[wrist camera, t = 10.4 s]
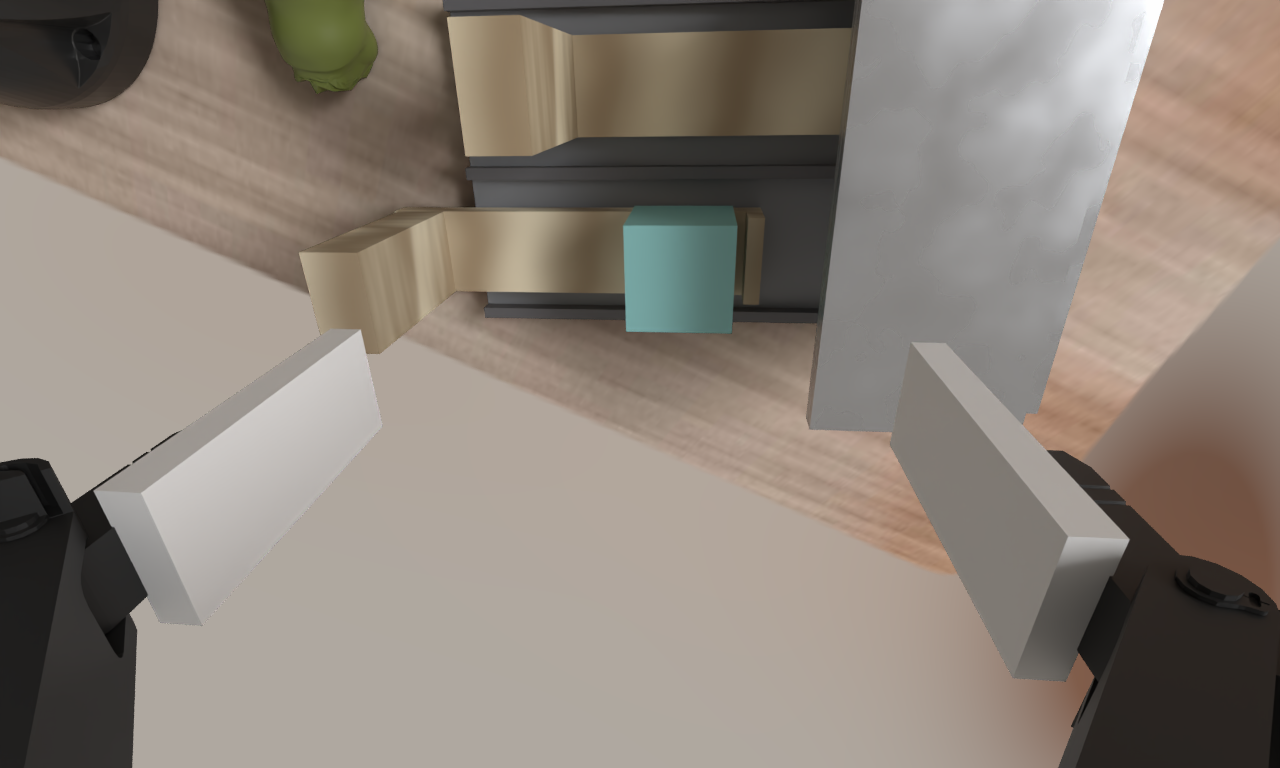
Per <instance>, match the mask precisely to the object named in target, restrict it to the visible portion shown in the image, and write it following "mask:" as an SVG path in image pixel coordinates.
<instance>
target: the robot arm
mask: <svg viewBox="0 0 1280 768" xmlns="http://www.w3.org/2000/svg"><path fill="white" fill-rule="evenodd" d="M157 18H158V0H0V103H2V104H6V105H11V106H16V107H24V108H33V109H60V108H82V107H89V106H94V105H97V104H101V103H103V102H106V101H108V100H110V99H112V98H114V97H116V96H117V95H119V94H120V93H122V92H123V91H124V90H125V89H127V88H128V87H129V86H130V85H131V84H132V83H133V82H134V81H135V79H136V78H137V77H138V75H139V74H140V72H141V71H142V69H143V67H144V66H145V64H146V61H147V59H148V57H149V55H150V52H151V49H152V46H153V42H154V38H155V33H156V27H157ZM382 426H383V425H382V420H381V416H380V412H379V407H378V403H377V399H376V395H375V390H374V386H373V381H372V377H371V373H370V369H369V364H368V360H367V355H366V351H365V346H364V342H363V338H362V333H361V329H330V330H328V331H327V332H325V333H324V334H322V335H321V336H319V337H318V338H317V339H315V340H314V341H312V342H311V343H309V344H308V345H306V346H305V347H303V348H302V349H300V350H299V351H297V352H296V353H295V354H293V355H292V356H290V357H289V358H287V359H286V360H284V361H283V362H281V363H280V364H279V365H277V366H275V367H274V368H273V369H271V370H270V371H268V372H267V373H265V374H264V375H262V376H261V377H259V378H258V379H256V380H255V381H254V382H252V383H251V384H249V385H248V386H246V387H245V388H243V389H242V390H240V391H239V392H237V393H236V394H234V395H233V396H232V397H230V398H229V399H227V400H226V401H224V402H223V403H221V404H220V405H218V406H217V407H215V408H214V409H212V410H211V411H210V412H208V413H207V414H205V415H204V416H202V417H201V418H199V419H198V420H196V421H195V422H194V423H192V424H190V425H189V426H188V427H186V428H185V429H183V430H181V431H179V432H176V433H174V434H172V435H171V436H169V437H168V438H167V439H165V440H163V441H162V442H160V443H159V444H158V445H156V446H155V447H153V448H152V449H151V452H146V453H144V454H143V455H141V456H140V457H139V458H137V459H136V460H134V461H133V464H132V465H127V466H125V467H124V468H122V469H121V470H119V471H118V472H116V473H115V474H113V475H112V476H110V477H109V478H108V479H106V480H105V481H103V482H101V483H100V484H99V485H97V486H96V487H94V488H93V489H91V490H90V491H88V492H87V493H85V494H84V495H82V496H81V497H79V498H78V499H76V500H75V501H74V502H72V503H70V501H69V499H68V497H67V495H66V493H65V491H64V489H63V488H62V486H61V484H60V482H59V480H58V478H57V476H56V474H55V473H54V471H53V469H52V467H51V465H50V463H49V461H46V460H42V459H39V458H34V459H33V458H30V459H29V458H28V459H17V460H11V461H6V462H1V463H0V768H132V755H133V729H134V700H135V674H136V671H135V670H136V645H137V629H136V626H135V624H134V622H133V620H132V618H131V616H130V614H129V613H130V612H131V611H132V610H133V609H134V608H135V607H136V606H137V605H138V604H139V603H141V601H142V600H144V598H146V597H147V598H148V600H149V602H150V604H151V606H152V608H153V610H154V612H155V614H156V616H157V618H158V620H159V622H160V623H170V624H185V625H200V626H202V625H203V624H204V623H205V622H206V621H207V620H208V619H209V618H210V617H211V615H212V614H213V613H214V612H215V611H216V610H217V609H218V608H219V607H220V605H221V604H222V603H223V602H224V601H225V600H226V599H227V598H228V597H229V595H230V594H231V593H232V592H233V591H234V590H235V589H236V588H237V587H238V586H239V585H240V583H241V582H242V581H243V580H244V579H245V578H246V577H247V576H248V575H249V573H250V572H251V571H252V570H253V569H254V568H255V567H256V566H257V564H259V562H260V561H261V560H262V559H263V558H264V557H265V556H266V555H267V554H268V552H269V551H270V550H271V549H272V548H273V547H274V546H275V544H277V543H278V541H279V540H280V539H281V538H282V537H283V536H284V535H285V534H286V532H287V531H288V530H289V529H290V528H291V527H292V526H293V525H294V524H295V523H296V521H297V520H298V519H299V518H300V517H301V516H302V515H303V514H304V513H305V512H306V510H307V509H308V508H309V507H310V506H311V505H312V504H313V503H314V502H315V501H316V499H317V498H318V497H319V496H320V495H321V494H322V493H323V492H324V491H325V489H326V488H327V487H328V486H329V485H330V484H331V483H332V482H333V481H334V479H335V478H336V477H337V476H338V475H339V474H340V473H341V472H342V470H344V468H345V467H346V466H347V465H348V464H349V463H350V462H351V461H352V460H353V459H354V457H355V456H356V455H357V454H358V453H359V452H360V451H361V450H362V448H363V447H364V446H365V445H366V444H367V443H368V442H369V441H370V440H371V439H372V437H373V436H374V435H375V434H376V433H377V432H378V431H379V430H380V429H381V428H382ZM890 446H891V448H892V450H893V451H894V453H895V455H896V457H897V459H898V461H899V463H900V465H901V467H902V469H903V470H904V472H905V474H906V476H907V478H908V480H909V482H910V484H911V486H912V488H913V489H914V491H915V493H916V495H917V497H918V499H919V501H920V503H921V505H922V507H923V508H924V510H925V512H926V514H927V516H928V518H929V520H930V522H931V524H932V526H933V527H934V529H935V531H936V533H937V535H938V537H939V539H940V541H941V543H942V545H943V546H944V548H945V550H946V552H947V554H948V556H949V558H950V560H951V562H952V564H953V565H954V567H955V569H956V571H957V573H958V575H959V577H960V579H961V581H962V582H963V584H964V586H965V588H966V590H967V592H968V594H969V596H970V598H971V600H972V602H973V603H974V605H975V607H976V609H977V611H978V613H979V615H980V617H981V619H982V620H983V622H984V624H985V626H986V628H987V630H988V632H989V634H990V636H991V637H992V640H993V642H994V643H995V645H996V647H997V649H998V651H999V653H1000V655H1001V657H1002V659H1003V660H1004V662H1005V664H1006V666H1007V668H1008V670H1009V672H1010V674H1011V676H1012V677H1013V678H1019V679H1034V680H1049V681H1064V682H1066V679H1067V678H1068V675H1069V673H1070V671H1071V669H1072V667H1073V664H1074V662H1075V660H1076V658H1077V655H1078V653H1079V654H1080V655H1081V657H1082V658H1083V660H1084V661H1085V663H1086V664H1087V666H1088V667H1089V669H1090V670H1091V672H1092V673H1093V675H1094V676H1095V677H1094V679H1093V681H1092V684H1091V685H1090V688H1089V690H1088V692H1087V694H1086V696H1085V698H1084V700H1083V702H1082V704H1081V706H1080V709H1079V711H1078V713H1077V715H1076V717H1075V719H1074V721H1073V723H1072V725H1071V727H1073V731H1072V733H1071V736H1070V738H1069V741H1068V744H1067V746H1066V749H1065V751H1064V754H1063V757H1062V759H1061V762H1060V764H1059V767H1058V768H1280V610H1278V608H1277V605H1276V603H1275V602H1274V601H1273V600H1272V599H1271V598H1270V597H1269V596H1268V595H1267V594H1266V593H1265V592H1264V591H1263V590H1262V589H1261V588H1259V587H1258V586H1256V585H1255V584H1253V583H1252V582H1251V581H1249V580H1248V579H1246V578H1245V577H1243V576H1242V575H1240V574H1238V573H1235V572H1233V571H1231V570H1229V569H1227V568H1225V567H1223V566H1220V565H1218V564H1216V563H1212V562H1209V561H1206V560H1202V559H1199V558H1196V557H1192V556H1182V555H1179V554H1178V553H1177V552H1176V551H1175V550H1174V549H1173V548H1172V547H1171V546H1170V545H1169V544H1168V543H1167V542H1166V541H1165V540H1164V539H1163V538H1162V537H1161V536H1160V535H1159V534H1158V533H1157V532H1156V531H1155V530H1154V529H1153V528H1152V527H1151V526H1150V525H1149V524H1148V523H1147V522H1146V521H1145V520H1144V519H1143V518H1142V517H1141V516H1140V515H1139V514H1138V513H1137V512H1136V511H1135V510H1134V509H1133V508H1132V507H1131V506H1127V505H1126V504H1125V503H1126V501H1125V500H1124V499H1123V498H1122V497H1120V495H1119V494H1117V493H1116V491H1114V490H1110V486H1109V485H1108V484H1107V483H1106V482H1105V481H1104V480H1103V479H1102V478H1101V477H1100V476H1099V475H1098V474H1097V473H1096V472H1095V471H1094V470H1093V469H1092V468H1091V467H1090V466H1088V465H1086V464H1084V463H1083V462H1081V461H1079V460H1078V459H1076V458H1074V457H1073V456H1071V455H1069V454H1067V453H1066V452H1064V451H1053V450H1045V448H1044V447H1043V446H1042V445H1041V444H1040V443H1039V442H1038V441H1037V440H1036V439H1035V438H1034V437H1033V436H1032V435H1031V434H1030V432H1029V431H1028V430H1027V429H1026V428H1025V427H1024V426H1023V425H1022V424H1021V423H1020V422H1019V421H1018V420H1017V419H1016V418H1015V417H1014V415H1013V414H1012V413H1011V412H1010V411H1009V410H1008V409H1007V408H1006V407H1005V406H1004V405H1003V404H1002V403H1001V402H1000V401H999V399H998V398H997V397H996V396H995V395H994V394H993V393H992V392H991V391H990V390H989V389H988V388H987V387H986V386H985V385H984V383H983V382H982V381H981V380H980V379H979V378H978V377H977V376H976V375H975V374H974V373H973V372H972V371H971V370H970V369H969V368H968V366H967V365H966V364H965V363H964V362H963V361H962V360H961V359H960V358H959V357H958V356H957V355H956V354H955V353H954V352H953V350H952V349H951V348H950V347H949V346H948V345H947V344H946V343H921V342H911V344H910V349H909V354H908V359H907V364H906V369H905V374H904V378H903V383H902V388H901V393H900V398H899V403H898V408H897V412H896V417H895V422H894V427H893V432H892V437H891V442H890Z"/></svg>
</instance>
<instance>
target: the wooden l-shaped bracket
mask: <svg viewBox="0 0 1280 768" xmlns="http://www.w3.org/2000/svg"><path fill="white" fill-rule="evenodd" d="M733 209H734V213H735V217H736V222H737V245H736V264H735V283H734V295H742V301H743V305H759V295H760V282H761V268H762V254H763V240H764V226H765V217H764V214H763V212H762V210H761V208H733ZM632 210H633V208H560V207H404V208H401V209H399V210H397V211H394V214H391V215H389V216H386V217H384V218H381V219H379V220H377V221H374V222H372V223H369V224H367V225H364V226H362V227H359V228H357V229H354V230H352V231H350V232H347V233H345V234H342V235H340V236H337V237H335V238H332V239H330V240H328V241H325V242H323V243H320V244H318V245H315V246H313V247H310V248H308V249H306V250H303V251H301V252H299V256H300V260H301V263H302V267H303V271H304V275H305V278H306V282H307V286H308V290H309V294H310V297H311V301H312V305H313V309H314V313H315V316H316V320H317V324H318V328H319V332H320V335H322V334H324V333H325V332H327V331H328V330H330V329H361V333H362V338H363V342H364V346H365V351H366V354H380V353H381V352H383V351H384V350H385V349H386V348H388V347H389V346H390V345H391V344H392V343H393V342H395V341H396V340H397V339H398V338H400V337H401V336H402V335H403V334H405V333H406V332H407V331H408V330H409V329H411V328H412V327H413V326H414V325H415V324H417V323H418V322H419V321H420V320H422V319H423V318H424V317H425V316H426V315H428V314H429V313H430V312H431V311H432V310H434V309H435V308H436V307H437V306H439V305H440V304H441V303H442V302H443V301H445V300H446V299H447V298H448V297H449V296H451V295H452V294H453V293H454V292H456V291H477V292H552V293H625V273H624V237H623V225H624V223H625V222H626V220H627V218H628V216H629V215H630V213H631V211H632Z"/></svg>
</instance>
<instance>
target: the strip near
mask: <svg viewBox="0 0 1280 768" xmlns="http://www.w3.org/2000/svg"><path fill="white" fill-rule="evenodd" d="M447 22H448V30H449V37H450V45H451V52H452V60H453V67H454V74H455V82H456V89H457V97H458V104H459V112H460V119H461V127H462V134H463V142H464V149H465V156H533V155H535V154H538V153H540V152H543V151H545V150H548V149H550V148H553V147H555V146H558V145H560V144H563V143H565V142H568V141H570V140H573V139H575V138H578V137H654V136H748V135H839V133H840V124H841V116H842V107H843V99H844V90H845V82H846V73H847V65H848V56H849V48H850V39H851V31H852V28H828V29H790V30H752V31H714V32H676V33H638V34H600V35H570V34H568V33H565V32H563V31H560V30H557V29H555V28H552V27H550V26H547V25H545V24H542V23H539V22H537V21H534V20H532V19H529V18H526V17H524V16H521V15H499V16H465V17H447Z"/></svg>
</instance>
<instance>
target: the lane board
mask: <svg viewBox="0 0 1280 768" xmlns="http://www.w3.org/2000/svg"><path fill="white" fill-rule="evenodd" d="M854 5H855V0H443V7H444V11H447V12H450V14H451V17H465V16H499V15H521V16H524V17H526V18H529V19H532V20H534V21H537V22H539V23H542V24H545V25H547V26H550V27H552V28H555V29H557V30H560V31H563V32H565V33H568V34H570V35H600V34H638V33H676V32H714V31H752V30H790V29H828V28H852V22H853V14H854ZM838 141H839V135H748V136H654V137H578V138H575V139H573V140H570V141H568V142H565V143H563V144H560V145H558V146H555V147H553V148H550V149H548V150H545V151H543V152H540V153H538V154H535V155H533V156H469V159H470V167H467V168H465V170H466V178H467V180H472V182H473V190H474V197H475V205H476V207H560V208H634V206H733V208H761V210H762V212H763V214H764V217H765V226H764V240H763V254H762V268H761V282H760V295H759V305H743V301H742V295H734V301H733V320H732V322H769V323H817V320H818V311H819V303H820V294H821V286H822V277H823V269H824V260H825V252H826V243H827V235H828V226H829V218H830V209H831V201H832V192H833V184H834V175H835V167H836V158H837V150H838ZM487 297H488V304H487V305H486V306H485V307H484V311H485V318H539V319H597V320H626V309H625V293H552V292H487Z"/></svg>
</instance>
